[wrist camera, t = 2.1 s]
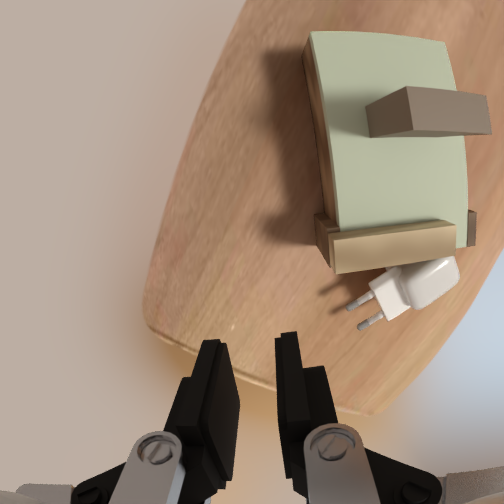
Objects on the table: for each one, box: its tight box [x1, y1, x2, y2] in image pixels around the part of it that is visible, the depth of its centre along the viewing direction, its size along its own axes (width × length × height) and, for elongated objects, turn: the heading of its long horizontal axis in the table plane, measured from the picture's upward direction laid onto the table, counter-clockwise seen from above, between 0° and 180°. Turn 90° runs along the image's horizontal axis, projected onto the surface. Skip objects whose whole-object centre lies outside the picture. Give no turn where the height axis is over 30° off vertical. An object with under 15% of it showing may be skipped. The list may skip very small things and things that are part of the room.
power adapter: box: [346, 256, 460, 331], centre depth 26 cm, size 11×5×6 cm, turn 123°
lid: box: [309, 31, 492, 248], centre depth 16 cm, size 18×12×8 cm, turn 8°
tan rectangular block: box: [328, 220, 457, 274], centre depth 20 cm, size 2×10×2 cm, turn 98°
